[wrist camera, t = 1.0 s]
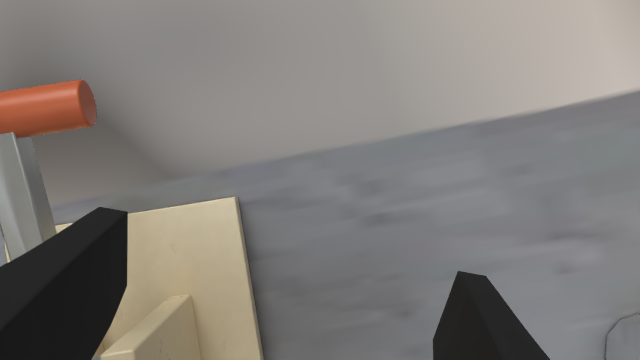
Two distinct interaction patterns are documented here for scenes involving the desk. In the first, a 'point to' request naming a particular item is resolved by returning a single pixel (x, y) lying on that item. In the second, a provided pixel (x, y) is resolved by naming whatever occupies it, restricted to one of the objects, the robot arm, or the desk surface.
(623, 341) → the milkshake
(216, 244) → the bracket
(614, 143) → the desk surface
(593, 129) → the desk surface
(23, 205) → the lever
